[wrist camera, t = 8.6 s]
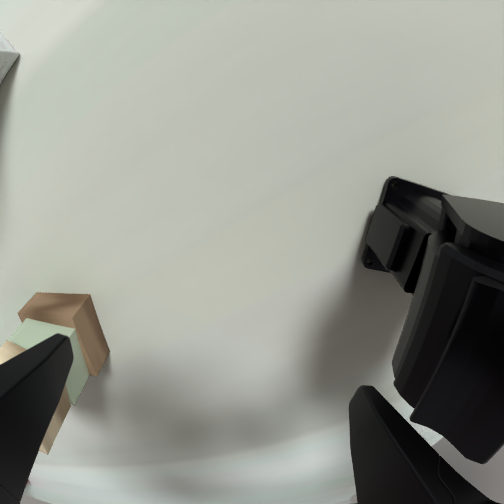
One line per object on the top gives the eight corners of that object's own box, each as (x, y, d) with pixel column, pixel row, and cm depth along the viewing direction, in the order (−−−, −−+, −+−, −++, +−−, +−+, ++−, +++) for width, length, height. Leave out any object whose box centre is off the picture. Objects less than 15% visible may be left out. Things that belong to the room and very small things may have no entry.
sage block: (74, 328, 21) (54, 359, 17) (89, 374, 23) (74, 405, 19) (26, 317, 20) (4, 344, 17) (43, 362, 23) (26, 389, 19)
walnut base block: (91, 293, 23) (72, 318, 20) (110, 349, 26) (97, 376, 23) (38, 291, 23) (17, 312, 20) (59, 343, 26) (43, 367, 23)
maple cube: (61, 365, 18) (30, 419, 13) (70, 406, 20) (48, 454, 15) (7, 340, 17) (-28, 385, 13) (20, 382, 19) (-6, 425, 15)
